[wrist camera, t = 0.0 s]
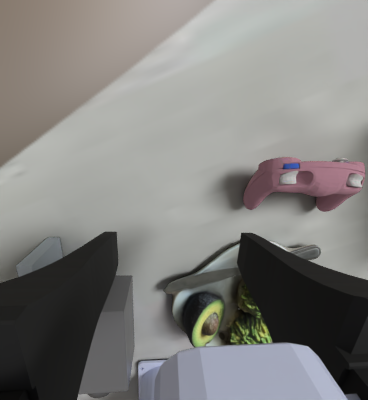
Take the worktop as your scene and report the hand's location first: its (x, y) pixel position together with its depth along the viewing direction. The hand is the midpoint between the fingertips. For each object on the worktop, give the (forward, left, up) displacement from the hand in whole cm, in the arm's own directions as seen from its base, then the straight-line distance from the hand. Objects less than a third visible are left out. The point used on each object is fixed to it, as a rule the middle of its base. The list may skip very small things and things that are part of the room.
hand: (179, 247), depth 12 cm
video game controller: (+2, -12, -10) cm, 16 cm away
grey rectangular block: (-16, +8, -10) cm, 20 cm away
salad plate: (-14, -9, -11) cm, 20 cm away
